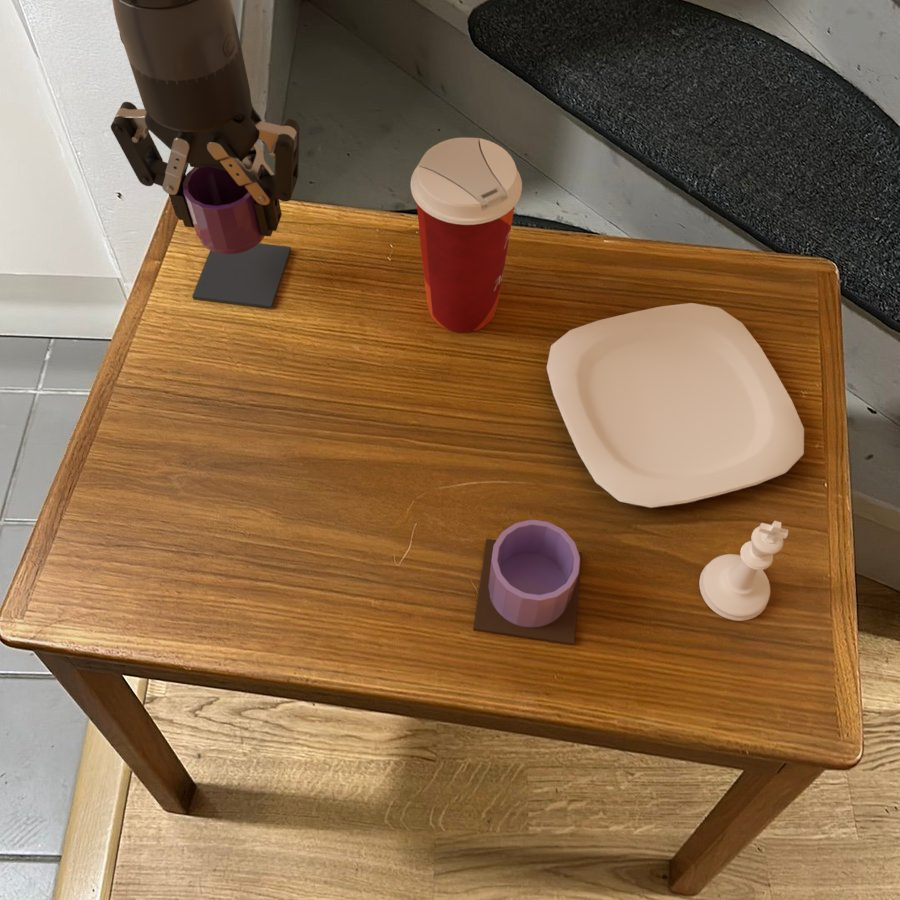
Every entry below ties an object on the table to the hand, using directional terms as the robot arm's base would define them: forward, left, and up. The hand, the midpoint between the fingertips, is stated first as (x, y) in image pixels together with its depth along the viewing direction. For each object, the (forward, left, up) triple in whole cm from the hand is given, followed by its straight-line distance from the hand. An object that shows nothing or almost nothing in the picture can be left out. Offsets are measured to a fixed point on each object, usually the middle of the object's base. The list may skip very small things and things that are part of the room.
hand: (230, 223), depth 76 cm
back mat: (0, 0, -6) cm, 6 cm away
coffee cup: (+19, -1, -6) cm, 20 cm away
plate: (+37, -9, -6) cm, 39 cm away
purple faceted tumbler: (0, 0, -1) cm, 1 cm away
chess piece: (+42, -24, -6) cm, 49 cm away
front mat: (+28, -26, -6) cm, 39 cm away
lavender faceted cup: (+28, -26, -6) cm, 39 cm away
